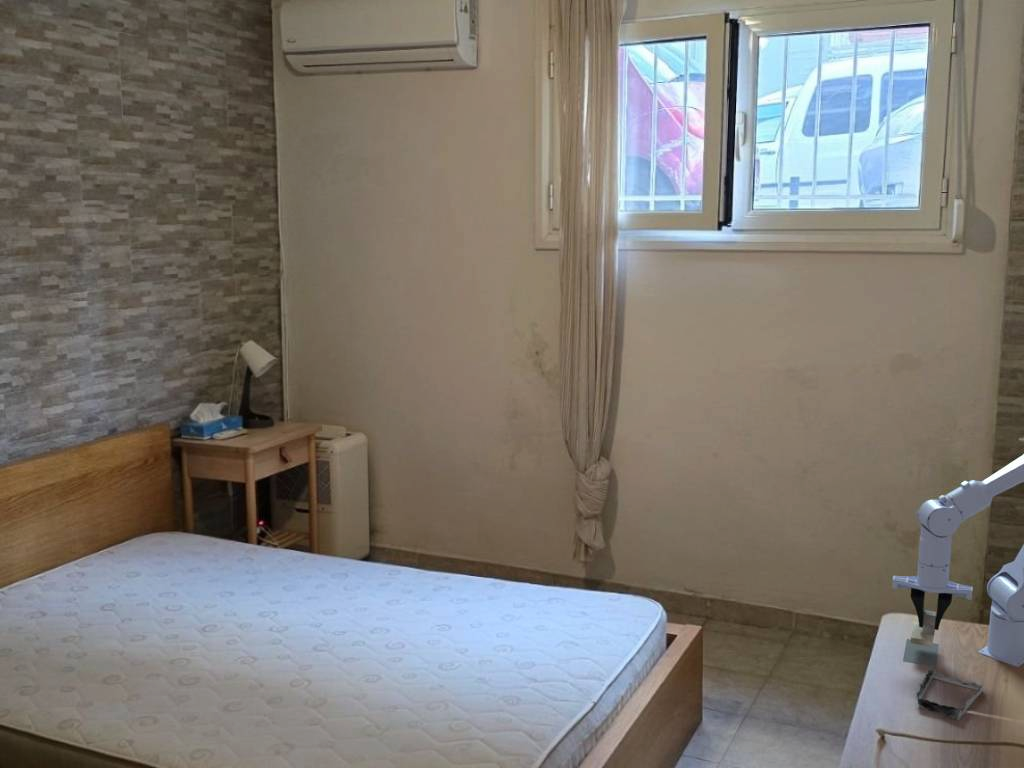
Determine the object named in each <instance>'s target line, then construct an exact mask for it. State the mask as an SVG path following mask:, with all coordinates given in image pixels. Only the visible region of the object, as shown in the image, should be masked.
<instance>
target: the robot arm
mask: <svg viewBox="0 0 1024 768" xmlns="http://www.w3.org/2000/svg"><path fill="white" fill-rule="evenodd" d="M1021 483H1024V453H1023V454H1022V455H1021V456H1019V457H1018V458H1016V459H1015V460H1012V461H1011V462H1010V463H1008V464H1007V465H1005V466H1003V467H1002V468H1001V469H999V470H998V471H996V472H994V473H993V474H991V475H990V476H988V477H987V478H985V479H983V480H981V481H980V480H975V479H971V480H969V481H967V480H963V482H961V483H960V484H959V485H960V486H959V487H956V488H955V489H954V490H952V491H950V492H948V493H947V494H941V495H940V496H938V499H929V500H926V501H925V502H923V503H922V504H921V506H920V507H919V509H918V511H916V512H915V513H916V514H915V515H916V518H917V521H918V522H919V523H920V533H919V535H920V536H919V545H918V546H919V547H918V558H917V559H918V560H917V574H916V576H904V575H903V576H901V575H900V576H899V575H893V577H892V584H891V588H892V589H903V590H904V589H905V590H910V595H909V596H910V599H911V601H912V603H913V606H914V609H915V612H916V615H917V620H918V622H919V627H922V628H923V616H924V610H925V604H924V603H925V597H926V596H925V595H926V593H932V594H938V596H937V604H936V605H937V606H936V621H935V631H939V628H940V624H941V621H942V619H943V617H944V615H945V613H946V611H947V610H948V609H949V607H950V605H951V604H952V601H953V597H959V598H965V599H966V600H973V590H974V587H973V586H971V585H970V586H969V585H965V584H961V583H956V582H953V581H950V580H949V578H950V567H951V566H950V565H951V553H952V543H953V542H952V540H953V539H952V537H953V535H954V534H955V532H957V530H958V528H959V526H960V525H961V524H962V523H963V521H965V520H967V519H969V518H970V517H972V516H974V515H976V514H977V513H980V512H981V511H983V510H985V509H986V508H988V507H990V506H991V504H992V500H993V497H995V496H997V495H1000V494H1002V493H1003V492H1005V491H1008V490H1010V489H1012V488H1014V487H1015V486H1017V485H1020V484H1021ZM986 591H987V595H988V596H989V599H991V607H990V613H989V614H990V615H989V625H988V634H987V635H988V636H987V643H986V644H987V645H986V646H984V647H983V648H981V649H980V650H978V651H977V652H978V654H980V655H983V656H985V657H988V658H991V659H994V660H997V661H1000V662H1003V663H1006V664H1007V665H1011V666H1014V667H1016V668H1018V667H1021V666H1022V665H1023V664H1024V544H1022V546H1021V548H1020V550H1019V552H1018V553H1017V555H1016V557H1015V559H1014V560H1013V561H1012V562H1008V563H1006V564H1004V565H1002V568H1001V569H1000V570H999V572H998V573H996V574H995V575H993V576H992V577H991V578H990V579H989V581H988V582H987V586H986Z"/></svg>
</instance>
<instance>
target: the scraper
mask: <svg viewBox="0 0 1024 768" xmlns="http://www.w3.org/2000/svg"><path fill="white" fill-rule="evenodd" d="M936 615H937V611H933V610H927V609H924V616H923V628H922V627H919V621H913V625H912V628H911V629H912V630H911V635H910V639H911V642H910V643H912V644H918V645H924V646H930V647H932V646H933V643H934V639H935V633H936V630H935V621H936Z"/></svg>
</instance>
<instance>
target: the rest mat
mask: <svg viewBox="0 0 1024 768" xmlns="http://www.w3.org/2000/svg"><path fill="white" fill-rule="evenodd" d="M910 642H911V638H907V639H906V642H905V643H906V644H905V648H904V654H903V658H902V662H906V663H910V664H916V665H923V666H928V667H933V668H937V658H938V651H939V644H938V643H934V642H933V646H932V647H930V646H924V645H918V644H912V643H910Z"/></svg>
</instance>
